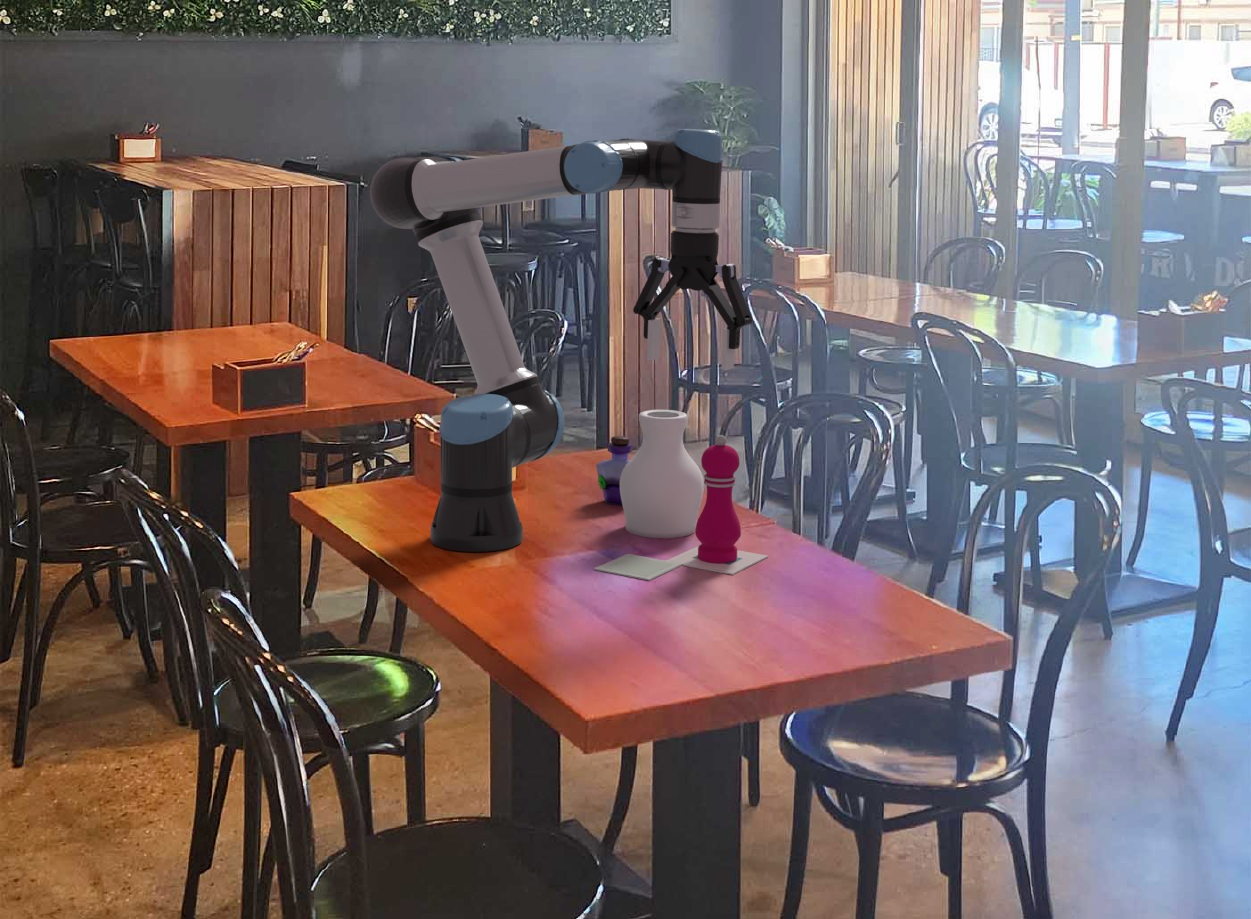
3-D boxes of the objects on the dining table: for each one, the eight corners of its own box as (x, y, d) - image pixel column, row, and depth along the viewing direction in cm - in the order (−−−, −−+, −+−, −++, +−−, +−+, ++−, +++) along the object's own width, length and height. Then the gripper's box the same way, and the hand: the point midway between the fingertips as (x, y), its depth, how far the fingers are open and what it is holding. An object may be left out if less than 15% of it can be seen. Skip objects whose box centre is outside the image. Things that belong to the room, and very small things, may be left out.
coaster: (594, 569, 250) (594, 568, 250) (628, 555, 258) (628, 553, 258) (649, 580, 245) (649, 579, 245) (682, 565, 253) (682, 563, 253)
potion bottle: (585, 501, 292) (586, 436, 289) (616, 493, 298) (617, 430, 296) (621, 510, 286) (623, 444, 284) (652, 501, 293) (654, 436, 290)
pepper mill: (736, 566, 253) (741, 441, 248) (691, 562, 254) (694, 438, 250) (742, 553, 259) (747, 432, 255) (698, 550, 261) (701, 429, 256)
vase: (683, 515, 284) (686, 403, 279) (715, 536, 271) (719, 419, 266) (607, 521, 279) (608, 408, 274) (636, 543, 266) (638, 424, 261)
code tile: (665, 562, 255) (665, 560, 255) (702, 545, 265) (702, 543, 265) (732, 574, 249) (732, 573, 249) (768, 557, 259) (768, 555, 259)
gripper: (614, 225, 255) (611, 358, 260) (755, 237, 242) (748, 376, 247) (639, 223, 261) (635, 352, 266) (777, 234, 248) (770, 370, 253)
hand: (689, 364), depth 256 cm, fingers open, 13 cm apart
